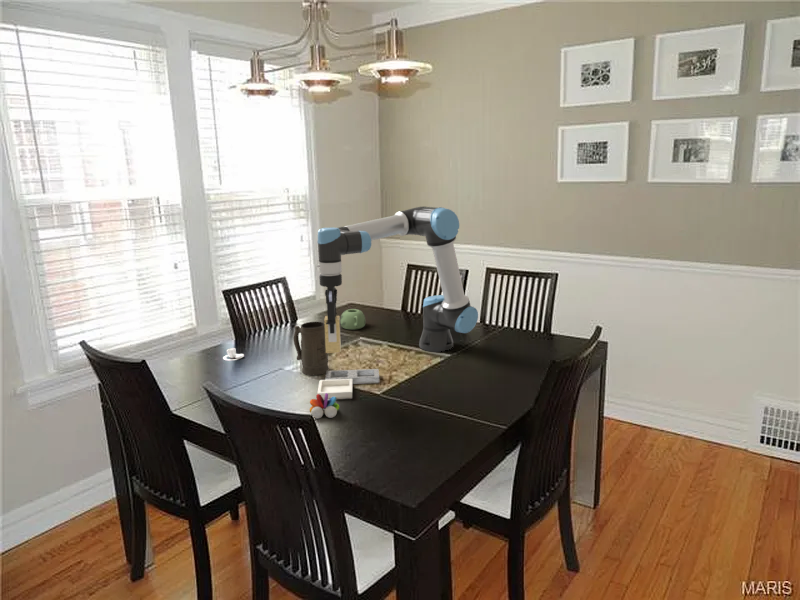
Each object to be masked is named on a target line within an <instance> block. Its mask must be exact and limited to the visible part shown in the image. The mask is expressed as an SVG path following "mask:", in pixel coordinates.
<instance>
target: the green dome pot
mask: <svg viewBox="0 0 800 600" xmlns="http://www.w3.org/2000/svg"><path fill="white" fill-rule="evenodd" d="M365 326H366V316H365V314H364V313H363V311H362V310H360V309H356V308H350V309H349V308H348V309H346V310H344V311H343V312H342V313H341V315H340V328H343V329H344V330H348V331H349V330H351V331H355V330H360V329H362V328H364V327H365Z"/></svg>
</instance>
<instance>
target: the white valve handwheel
mask: <svg viewBox="0 0 800 600" xmlns="http://www.w3.org/2000/svg"><path fill="white" fill-rule="evenodd" d="M227 357H229V358H230V359H232V361H237V360H240V359H242V358H244V357H245V354H244V353H237V351H236V348H235V347H230V348H228V349H226V355H225V356H223V357H222V359H223V360H225V361H230V359H228V358H227Z"/></svg>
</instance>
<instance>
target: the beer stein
mask: <svg viewBox="0 0 800 600" xmlns="http://www.w3.org/2000/svg"><path fill="white" fill-rule="evenodd" d="M299 335H300V338H301V339H300V338H299ZM292 340H293V344H294V347H295V348H294V349H295V350H296V354H297V356H296V361H301V365H302V367H301V372H302V374H303V375H306V376H319V375H320V376H321V375H324V374H326V371H329V364H328V363H329V353H326V346H325V322H322V321H309V322H305V323H302V324H301V325H300V326H299V325H295V326H294V333H293V339H292Z"/></svg>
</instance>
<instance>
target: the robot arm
mask: <svg viewBox="0 0 800 600" xmlns="http://www.w3.org/2000/svg"><path fill="white" fill-rule="evenodd" d="M459 229H460V220H459V217H458V216H457V214H456V213H455V211H453V210H452V209H450V208H446V207H442V206H441V207H435V206H433V207H432V206H416V207H413V208H408V209H405V210H401V211H396V212H395V213H394V215H391V216H386V217H381V218H376V219H371V220H367V221H363V222H358V223H354V224H348V225H344V226H340V227H322V228H319V229H318V230H317V249H318V264H317V265H316V267H317V268H318V269H319V270H318V273H319V277H318V278H319V285H320V286H321V287H326V289H325V292H324V296H325V304H326V307H327V308H326V310H327V311H326V312H327V314H326V316H328V321H327V323H326V324H328V337H329V342H337V337H336V321H335V316H339V314H338V313H337V300H338V299H337V297H338V289H337V288H336V287H339V286H341V285H342V284H343V275H342V270H343V269H342V256H344V255H354V254H362V253H366V252H369V251H370V250H371V247H372V242H373V241H376V240H380V239H385V238H388V237H393V236H396V235H399V236H401V237H403V236H409V235H412V236H413V235H415V236H421V237H425V240H426V244H427V246H428V247H429V248H431V249H432V253H433V254H432V255H433V257H434V262H435V266H436V271H437V274H438V278H439V283H440V287H441V293H442V294H439V295H438V294H437V295H431V296H427V297H425V298H424V299H423V305H422V318H423V319H422V320H423V321H422V322H423V329H422V332H421V336H420V338H419V342H418V343H419V345H418V346H419V348H420V349H421V350H423V351H425V352H426V351H427V352H431V353H432V352H434V353H436V352H437V353H438V352H441V351H442V352H446V351H445V350H448V351H450V350H452V349H453V348H454V340H453V337H452V334H451V331H454V332H456V333H462V334H467V333H470V332H471V331H472V330H474V328H475V327H476V324H477V323H478V319H479V311H478V310H477V308H476V307H474V306H471V302H470V298H469V296H467V295H465V292H464V286H463V282H462V278H461V274H460V273H461V272H460V269H459V264H458V259H457V255H456V250H455V246H454V243H455V241H456V240H457V235H458V233H459ZM337 314H338V315H337ZM452 347H453V348H452ZM451 348H452V349H451ZM449 349H450V350H449ZM442 352H441V353H442Z"/></svg>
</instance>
